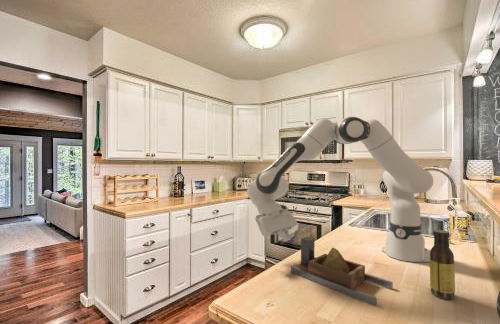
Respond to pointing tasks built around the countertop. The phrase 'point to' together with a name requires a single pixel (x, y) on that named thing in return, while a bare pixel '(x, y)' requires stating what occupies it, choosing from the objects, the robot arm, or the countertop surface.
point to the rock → (336, 261)
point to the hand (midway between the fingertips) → (288, 240)
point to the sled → (329, 273)
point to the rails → (343, 288)
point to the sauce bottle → (442, 266)
